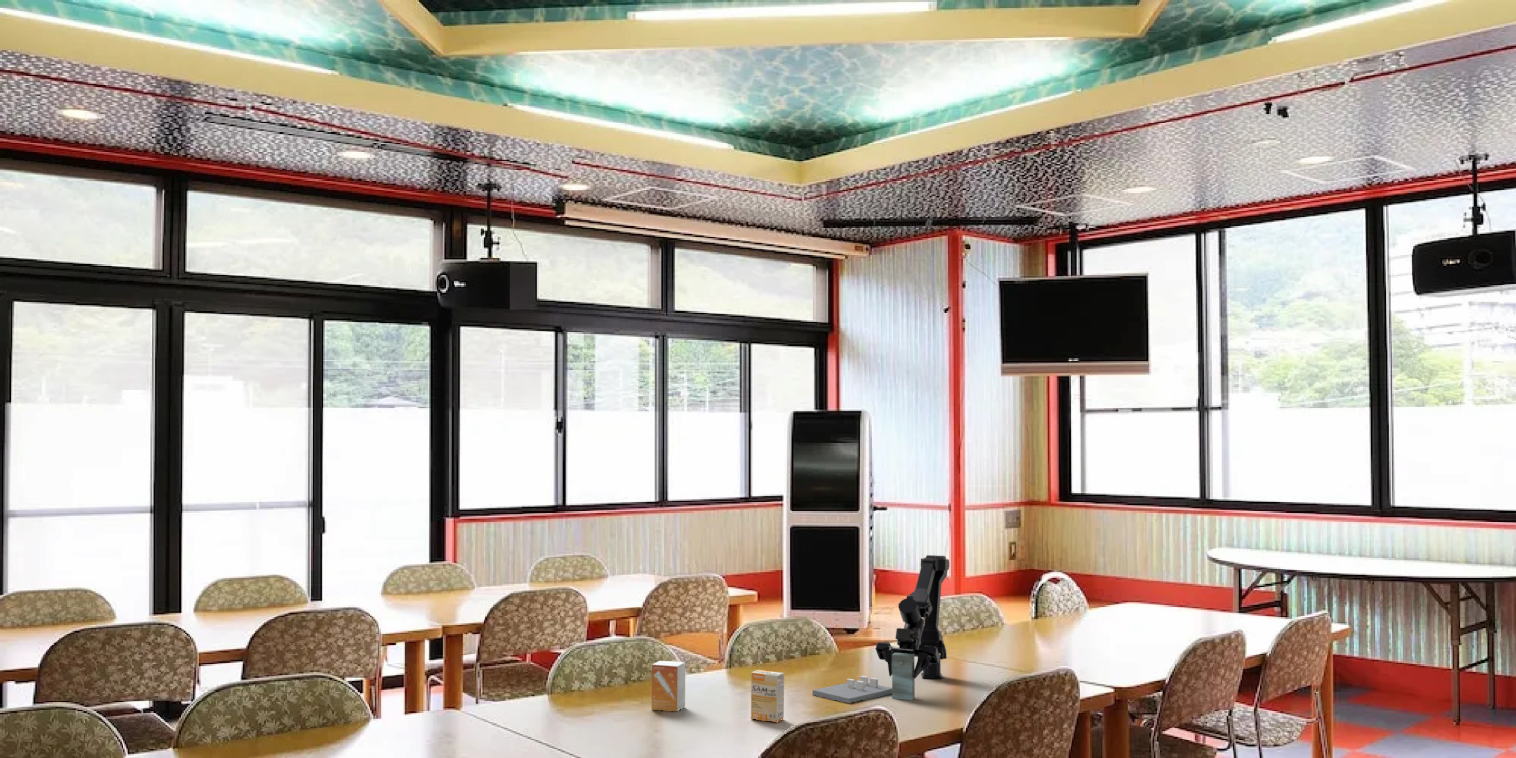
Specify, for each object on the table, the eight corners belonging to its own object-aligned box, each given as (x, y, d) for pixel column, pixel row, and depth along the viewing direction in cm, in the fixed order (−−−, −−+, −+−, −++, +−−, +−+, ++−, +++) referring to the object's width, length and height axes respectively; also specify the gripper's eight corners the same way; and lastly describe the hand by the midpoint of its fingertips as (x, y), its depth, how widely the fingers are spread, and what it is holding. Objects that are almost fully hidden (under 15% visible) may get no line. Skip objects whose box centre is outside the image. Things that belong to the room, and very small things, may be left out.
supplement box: (750, 720, 320) (750, 672, 321) (758, 716, 325) (758, 669, 325) (776, 723, 317) (776, 675, 317) (784, 719, 321) (784, 671, 321)
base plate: (857, 685, 364) (857, 672, 365) (894, 693, 353) (894, 680, 353) (812, 695, 351) (812, 681, 351) (848, 703, 340) (848, 689, 340)
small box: (651, 710, 332) (651, 664, 332) (659, 705, 338) (659, 660, 338) (677, 712, 329) (677, 665, 330) (685, 707, 335) (685, 661, 336)
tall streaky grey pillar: (895, 696, 350) (895, 652, 350) (914, 698, 347) (914, 654, 348) (891, 698, 346) (891, 654, 347) (911, 700, 344) (910, 656, 344)
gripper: (877, 615, 355) (865, 658, 345) (937, 619, 348) (927, 663, 337) (885, 637, 362) (874, 679, 352) (943, 641, 355) (934, 685, 344)
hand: (901, 676), depth 346 cm, fingers open, 7 cm apart
